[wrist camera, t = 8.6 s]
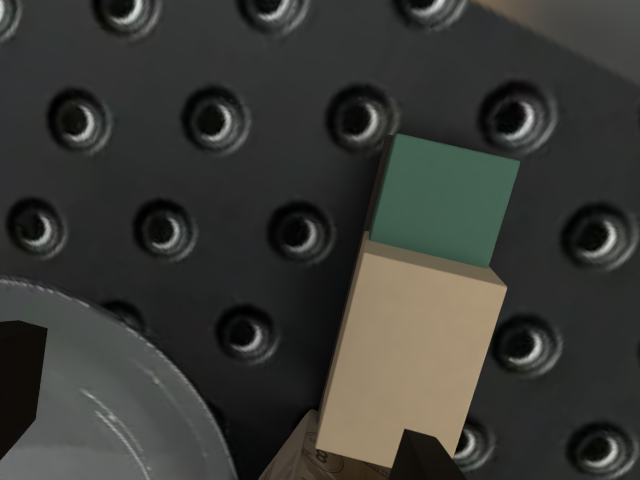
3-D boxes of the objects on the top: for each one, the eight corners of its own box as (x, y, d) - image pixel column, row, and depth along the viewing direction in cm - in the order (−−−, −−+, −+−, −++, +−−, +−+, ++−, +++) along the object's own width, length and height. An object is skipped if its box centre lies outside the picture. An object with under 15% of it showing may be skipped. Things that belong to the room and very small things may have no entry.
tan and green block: (421, 434, 20) (435, 519, 16) (318, 407, 20) (304, 484, 16) (504, 158, 18) (548, 166, 13) (386, 131, 18) (392, 130, 14)
